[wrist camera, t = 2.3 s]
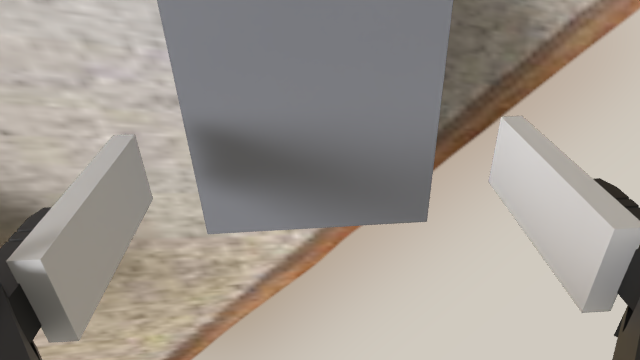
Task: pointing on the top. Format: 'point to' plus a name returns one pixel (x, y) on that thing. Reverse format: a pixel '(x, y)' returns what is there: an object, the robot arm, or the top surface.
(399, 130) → the grey cubic block
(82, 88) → the top surface
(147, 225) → the top surface
